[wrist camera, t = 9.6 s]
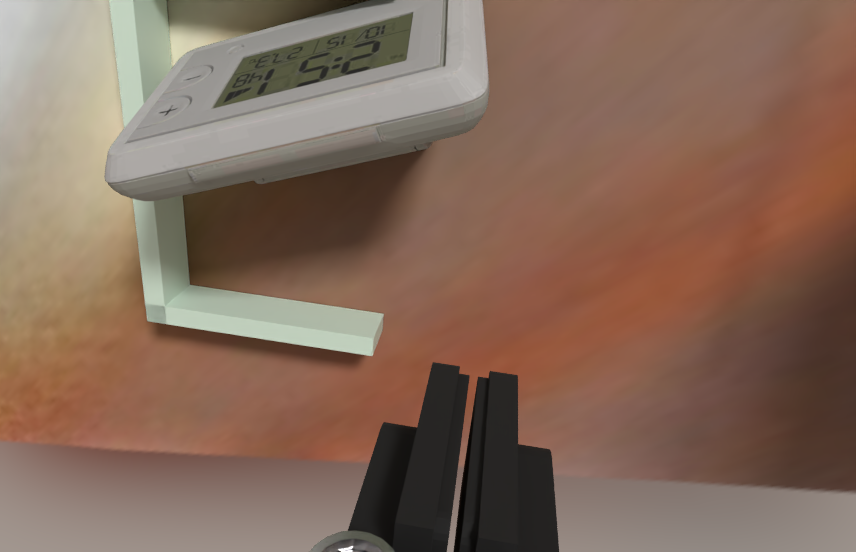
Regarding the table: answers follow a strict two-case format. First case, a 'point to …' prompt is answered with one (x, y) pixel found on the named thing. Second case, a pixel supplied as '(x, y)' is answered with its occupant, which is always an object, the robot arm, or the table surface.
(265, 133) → the digital clock
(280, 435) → the table surface
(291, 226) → the table surface
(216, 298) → the mint u-shaped bracket
